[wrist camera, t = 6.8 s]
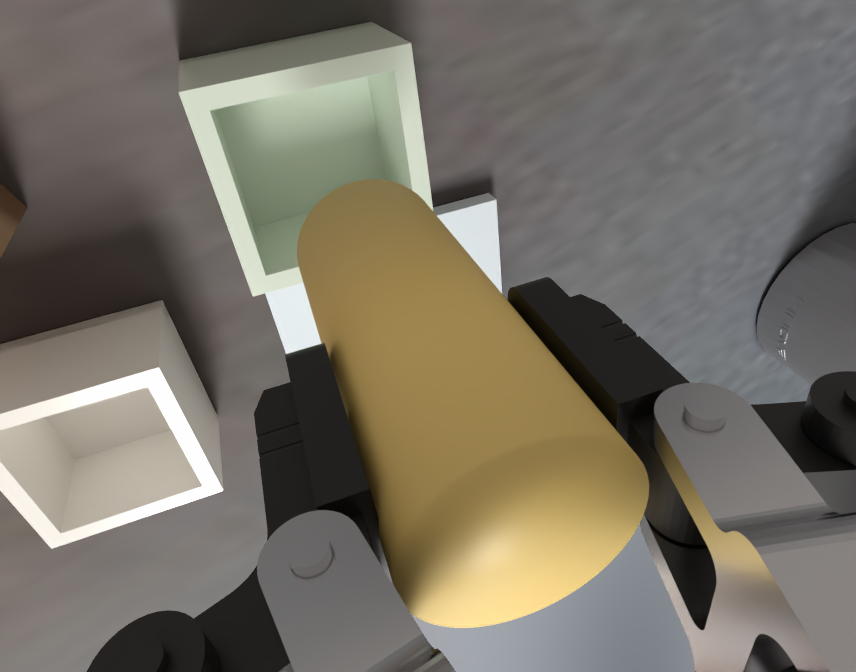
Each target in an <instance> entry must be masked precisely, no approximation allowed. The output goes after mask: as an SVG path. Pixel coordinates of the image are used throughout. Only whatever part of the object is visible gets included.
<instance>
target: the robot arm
mask: <svg viewBox="0 0 856 672" xmlns="http://www.w3.org/2000/svg"><path fill="white" fill-rule="evenodd" d="M508 302H509V303H510V304H511V305H512V306H513V308H514V309H515V310H516V311H517V312H518V313H519V315H520V316H521V317H522V318H523V319H524V321H525V322H526V323H527V324H528V325H529V327H530V328H531V329H532V330H533V331H534V333H535V334H536V335H537V336H538V337H539V339H540V340H541V341H542V342H543V343H544V345H545V346H546V347H547V348H548V349H549V351H550V352H551V353H552V354H553V355H554V357H555V358H556V359H557V360H558V361H559V363H560V364H561V365H562V366H563V367H564V368H565V370H566V371H567V372H568V373H569V374H570V376H571V377H572V378H573V379H574V380H575V382H576V383H577V384H578V385H579V386H580V388H581V389H582V390H583V391H584V392H585V394H586V395H587V396H588V397H589V398H590V400H591V401H592V402H593V403H594V404H595V406H596V407H597V408H598V409H599V410H600V412H601V413H602V414H603V415H604V416H605V418H606V419H607V420H608V421H609V422H610V423H611V425H612V426H613V427H614V428H615V429H616V431H617V432H618V433H619V434H620V435H621V437H622V438H623V439H624V440H625V441H626V443H627V444H628V445H629V446H630V447H631V449H632V450H633V451H634V452H635V453H636V455H637V456H638V457H639V459H640V460H641V461H642V463H643V464H644V467H645V469H646V472H647V474H648V480H649V497H648V501H647V506H646V509H645V512H644V514H643V517H642V519H641V521H640V526H641V531H642V534H643V537H644V539H645V542H646V544H647V546H648V548H649V551H650V553H651V555H652V557H653V560H654V562H655V564H656V567H657V569H658V571H659V573H660V576H661V578H662V580H663V582H664V584H665V587H666V589H667V592H668V594H669V596H670V598H671V601H672V603H673V605H674V608H675V609H676V612H677V614H678V617H679V619H680V621H681V623H682V625H683V628H684V630H685V633H686V635H687V637H688V640H689V643H690V646H691V650H692V654H693V660H694V669H695V672H856V223H850V224H847V225H844V226H840V227H837V228H835V229H833V230H831V231H829V232H827V233H825V234H823V235H822V236H820V237H819V238H818V239H816V240H815V241H813V242H812V243H810V244H809V245H808V246H806V247H805V248H804V249H803V250H802V251H801V252H800V253H799V254H797V255H796V256H795V257H794V258H793V259H792V260H791V261H790V263H789V264H788V265H787V266H786V267H785V268H784V269H783V270H782V272H781V273H780V274H779V276H778V277H777V279H776V280H775V281H774V283H773V284H772V286H771V287H770V289H769V291H768V293H767V295H766V297H765V299H764V301H763V303H762V306H761V309H760V312H759V315H758V321H757V327H756V328H757V338H758V340H759V343H760V345H761V347H762V348H763V349H765V350H766V351H767V352H768V353H769V354H771V355H772V356H773V357H775V358H776V359H777V360H779V361H780V362H781V363H783V364H784V365H785V366H787V367H788V368H790V369H791V370H792V371H794V372H795V373H796V374H798V375H799V376H800V377H802V378H803V379H804V380H806V381H807V382H809V383H810V384H811V388H810V391H809V394H808V398H807V401H803V402H789V403H775V404H760V405H750V404H749V403H748V402H747V401H746V400H745V399H744V398H742V397H741V396H739V395H738V394H736V393H735V392H733V391H730V390H728V389H726V388H723V387H720V386H717V385H713V384H707V383H690V382H689V381H688V380H687V379H685V378H684V377H683V376H682V375H681V374H680V373H679V372H678V371H677V370H676V369H675V368H673V367H672V366H671V365H670V364H669V363H668V362H667V361H666V360H665V359H664V358H663V357H662V356H660V355H659V354H658V353H657V352H656V351H655V350H654V349H653V348H652V347H651V346H650V345H648V344H647V343H646V342H645V341H644V340H643V339H642V338H641V337H640V336H639V337H637V336H636V333H635V332H634V331H633V330H632V329H631V328H630V327H629V326H628V325H627V324H626V323H625V324H623V323H622V320H621V319H620V318H619V317H618V316H617V315H616V314H615V313H614V312H613V311H611V310H610V309H609V308H608V307H607V306H606V305H605V304H602V303H600V302H598V301H595V300H593V299H591V298H588V297H586V296H584V295H581V294H580V295H576V296H573V297H569V296H568V295H567V294H566V293H565V292H564V291H563V290H562V289H561V288H560V287H559V286H558V285H557V284H556V283H555V282H554V281H553V280H552V279H550V278H548V277H546V278H542V279H539V280H535V281H532V282H529V283H525V284H522V285H519V286H515V287H512V288H510V289H509V291H508ZM285 356H286V362H287V366H288V371H289V376H290V381H291V382H290V383H286V384H283V385H280V386H277V387H273V388H270V389H267V390H264V391H263V393H262V396H261V398H260V401H259V403H258V405H257V408H256V410H255V412H254V417H255V425H256V434H257V438H258V440H257V443H258V451H259V456H260V459H259V460H260V468H261V477H262V485H263V494H264V503H265V511H266V520H267V528H268V537H267V542H266V543H265V545H264V547H263V549H262V551H261V553H260V556H259V559H258V565H257V566H256V568H255V569H254V571H253V572H252V573H251V575H250V576H249V577H248V578H247V579H246V580H245V581H244V582H243V583H242V584H241V585H240V586H239V587H238V588H237V589H235V590H234V591H233V592H232V593H230V594H229V595H227V596H226V597H225V598H223V599H222V600H220V601H219V602H217V603H216V604H214V605H213V606H212V607H210V608H209V609H207V610H206V611H204V612H203V613H201V614H200V615H198V616H197V617H196V618H194V619H193V618H192V617H190V616H188V615H187V614H185V613H182V612H178V611H159V612H155V613H151V614H148V615H146V616H143V617H141V618H138V619H137V620H135V621H133V622H131V623H130V624H128V625H127V626H125V627H124V628H123V629H121V630H120V631H118V632H117V633H116V634H115V635H114V636H113V637H112V638H111V639H110V640H109V641H108V642H107V643H106V644H105V645H104V646H103V647H102V649H101V650H100V651H99V653H98V654H97V655H96V657H95V658H94V660H93V661H92V663H91V665H90V667H89V669H88V670H87V672H456V671H455V670H454V668H453V667H452V666H451V664H450V663H449V661H448V660H447V658H446V657H445V656H444V655H443V654H442V652H441V651H440V650H438V649H434V648H433V647H432V646H431V645H430V644H429V642H428V641H427V639H426V638H425V636H424V635H423V633H422V631H421V630H420V628H419V627H418V625H417V623H416V622H415V620H414V618H413V617H412V615H411V613H410V612H409V610H408V608H407V607H406V605H405V604H404V602H403V600H402V599H401V597H400V595H399V594H398V592H397V590H396V589H395V587H394V585H393V582H392V579H391V576H390V572H389V569H388V566H387V562H386V559H385V556H384V552H383V549H382V545H381V542H380V537H379V532H378V523H379V518H378V515H377V511H376V508H375V505H374V501H373V498H372V495H371V491H370V488H369V485H368V482H367V478H366V475H365V472H364V469H363V465H362V462H361V459H360V456H359V452H358V449H357V446H356V443H355V439H354V436H353V433H352V430H351V426H350V423H349V420H348V417H347V413H346V410H345V407H344V404H343V400H342V397H341V394H340V391H339V388H338V384H337V381H336V378H335V375H334V371H333V368H332V365H331V362H330V358H329V355H328V352H327V349H326V345H325V343H322V344H318V345H315V346H311V347H308V348H305V349H301V350H298V351H295V352H291V353H288V354H285Z"/></svg>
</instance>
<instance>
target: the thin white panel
mask: <svg viewBox="0 0 856 672" xmlns="http://www.w3.org/2000/svg"><path fill="white" fill-rule="evenodd" d="M433 212H434V213H435V214H436V215H437V217H438V218H439V219H440V220H441V221H442V223H443V224H444V225H445V226H446V227H447V229H448V230H449V231H450V232H451V233H452V235H453V236H454V237H455V238H456V239H457V241H458V242H459V243H460V244H461V245H462V247H463V248H464V249H465V250H466V251H467V253H468V254H469V255H470V256H471V257H472V258H473V260H474V261H475V262H476V263H477V264H478V266H479V267H480V268H481V269H482V270H483V272H484V273H485V274H486V275H487V276H488V278H489V279H490V280H491V281H492V282H493V284H494V285H495V286H496V287H497V288H498V290H499V291H500V292H501V293H502V284H501V268H500V251H499V235H498V219H497V203H496V199H495V198H494V197H493V196H492V195H490V194H489V193H486V194H482V195H478V196H475V197H471V198H467V199H463V200H460V201H456V202H452V203H448V204H445V205H441V206H437V207H434V208H433ZM265 294H266V297H267V300H268V303H269V306H270V308H271V311H272V314H273V317H274V320H275V323H276V326H277V329H278V331H279V334H280V337H281V340H282V343H283V346H284V349H285V352H286V354H288V353H291V352H295V351H298V350H301V349H305V348H308V347H311V346H315V345H318V344H321V340H320V337H319V334H318V330H317V327H316V324H315V320H314V317H313V314H312V310H311V307H310V304H309V300H308V297H307V293H306V290H305V287H304V283H299V284H296V285H292V286H289V287H285V288H282V289H278V290H274V291H271V292H267V293H265Z"/></svg>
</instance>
